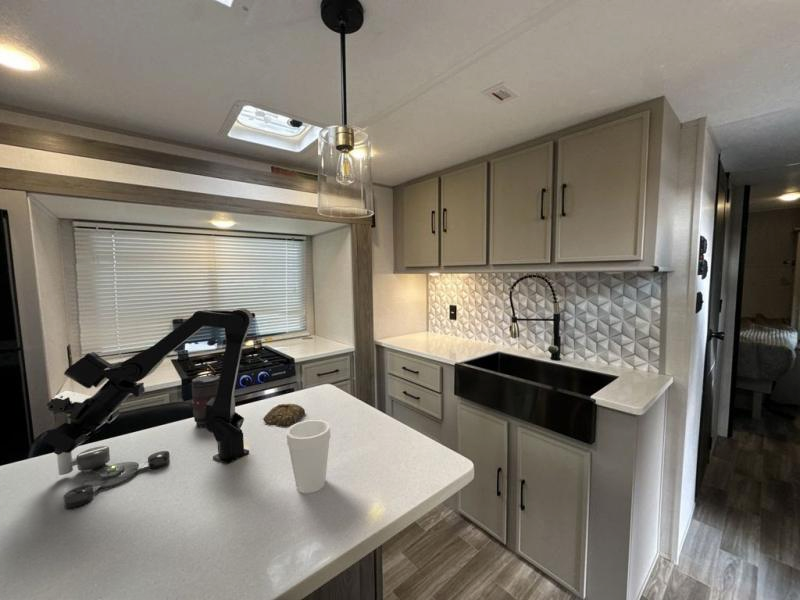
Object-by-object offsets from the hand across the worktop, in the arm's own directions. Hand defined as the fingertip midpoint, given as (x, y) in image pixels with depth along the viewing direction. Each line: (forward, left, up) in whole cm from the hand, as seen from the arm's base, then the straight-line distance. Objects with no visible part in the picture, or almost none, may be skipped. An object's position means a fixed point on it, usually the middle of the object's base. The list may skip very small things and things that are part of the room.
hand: (57, 452), depth 77 cm
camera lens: (0, -36, -8) cm, 36 cm away
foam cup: (-54, -26, -8) cm, 60 cm away
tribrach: (-7, -7, -7) cm, 12 cm away
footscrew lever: (+1, -5, -6) cm, 8 cm away
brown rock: (-20, -49, -8) cm, 53 cm away
